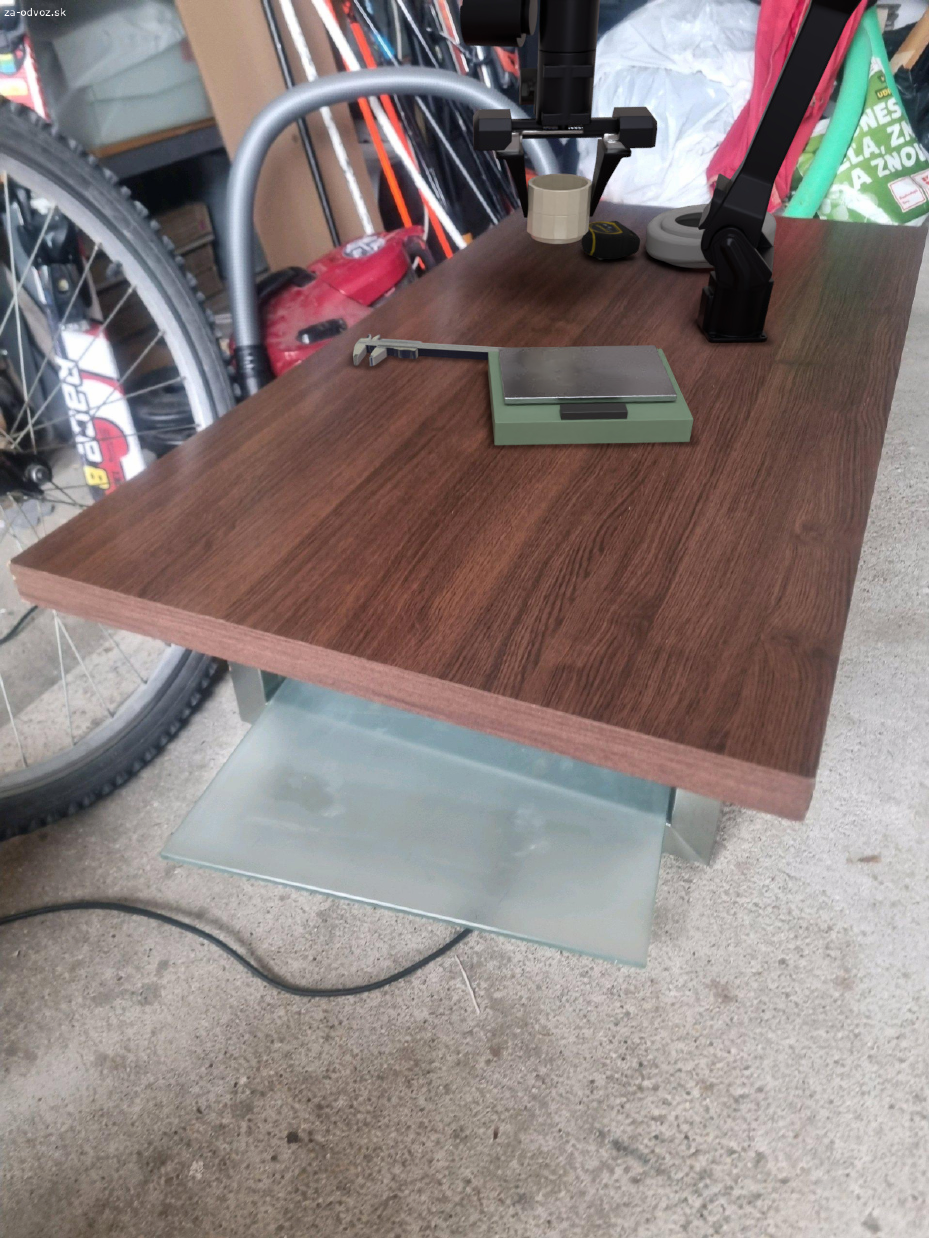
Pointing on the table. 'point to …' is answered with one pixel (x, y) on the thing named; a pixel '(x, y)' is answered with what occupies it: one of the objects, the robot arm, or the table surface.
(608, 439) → the scale
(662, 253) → the grey donut ring
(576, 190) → the cup
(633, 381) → the scale pan
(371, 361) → the caliper
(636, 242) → the tape measure
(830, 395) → the table surface
